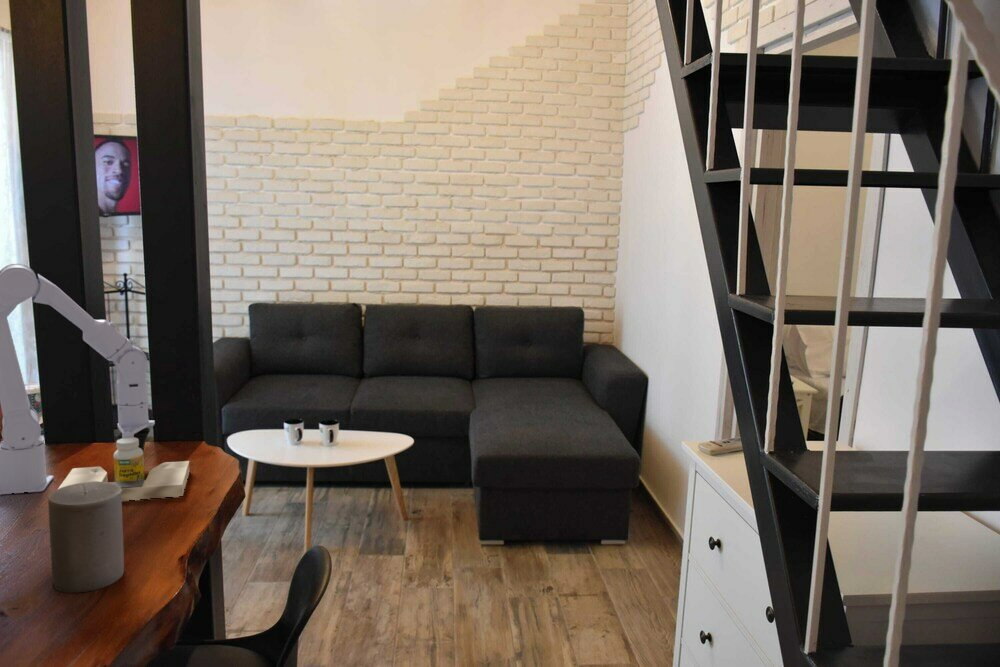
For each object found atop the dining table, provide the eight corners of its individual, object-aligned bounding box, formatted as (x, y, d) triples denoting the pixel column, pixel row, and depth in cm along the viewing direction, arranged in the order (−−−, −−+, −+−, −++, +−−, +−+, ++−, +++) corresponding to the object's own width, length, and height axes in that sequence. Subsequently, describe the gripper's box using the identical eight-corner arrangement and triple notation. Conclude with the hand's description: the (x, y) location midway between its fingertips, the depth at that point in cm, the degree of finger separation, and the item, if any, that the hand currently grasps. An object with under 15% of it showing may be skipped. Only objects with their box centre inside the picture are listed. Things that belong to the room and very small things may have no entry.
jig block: (54, 506, 135) (53, 493, 134) (73, 479, 148) (72, 467, 147) (182, 496, 142) (182, 483, 141) (189, 472, 155) (189, 460, 154)
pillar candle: (47, 598, 104) (41, 500, 102) (57, 567, 113) (52, 475, 110) (122, 587, 108) (119, 492, 105) (127, 558, 117) (124, 470, 114)
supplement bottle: (143, 478, 150) (141, 434, 148) (146, 487, 145) (144, 442, 144) (114, 483, 147) (111, 437, 145) (116, 492, 143) (113, 446, 141)
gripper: (147, 410, 147) (150, 474, 149) (158, 393, 160) (161, 451, 162) (109, 412, 144) (112, 476, 147) (123, 394, 158) (126, 453, 160)
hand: (135, 463), depth 154 cm, fingers closed
